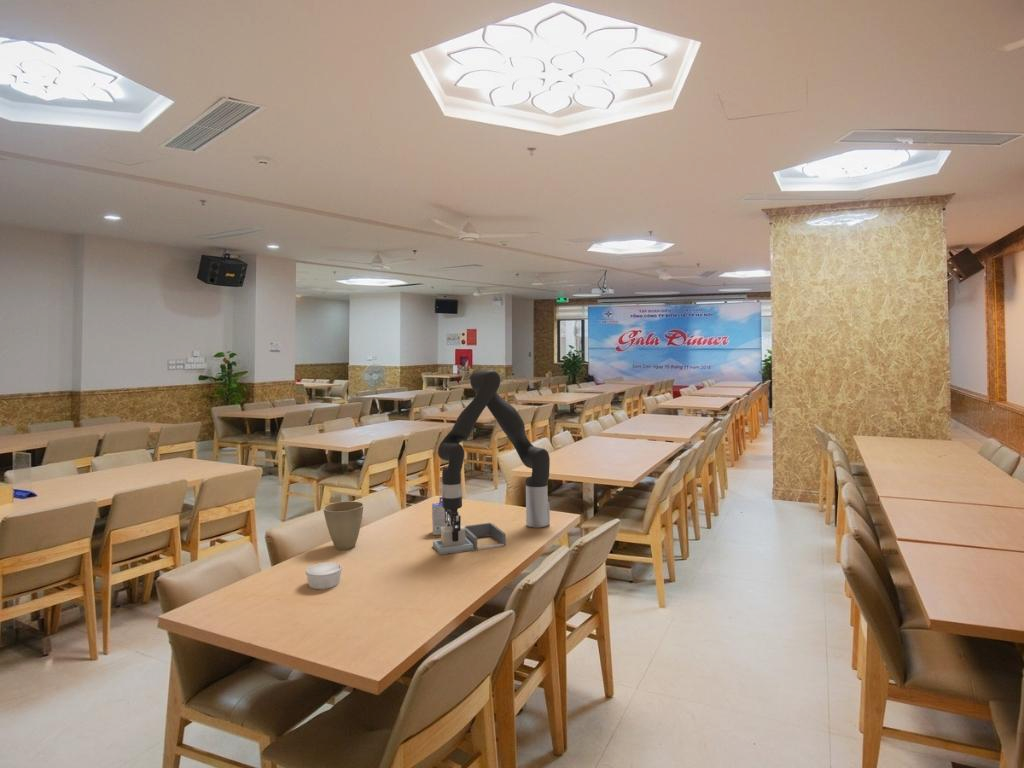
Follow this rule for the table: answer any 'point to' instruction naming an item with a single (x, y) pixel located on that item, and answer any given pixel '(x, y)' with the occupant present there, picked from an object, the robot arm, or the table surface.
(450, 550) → the tray
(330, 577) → the ramekin
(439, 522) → the ink cartridge box
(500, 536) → the frame
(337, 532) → the plant pot
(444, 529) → the tall cream box
